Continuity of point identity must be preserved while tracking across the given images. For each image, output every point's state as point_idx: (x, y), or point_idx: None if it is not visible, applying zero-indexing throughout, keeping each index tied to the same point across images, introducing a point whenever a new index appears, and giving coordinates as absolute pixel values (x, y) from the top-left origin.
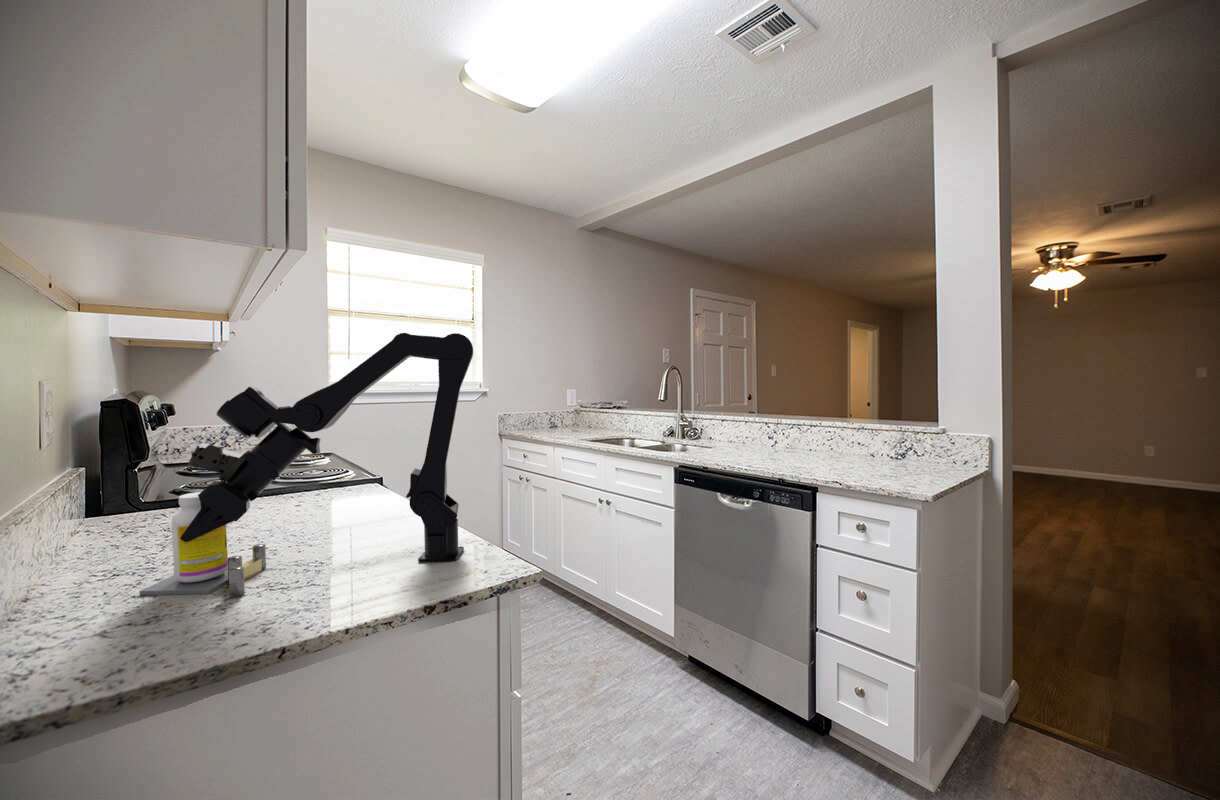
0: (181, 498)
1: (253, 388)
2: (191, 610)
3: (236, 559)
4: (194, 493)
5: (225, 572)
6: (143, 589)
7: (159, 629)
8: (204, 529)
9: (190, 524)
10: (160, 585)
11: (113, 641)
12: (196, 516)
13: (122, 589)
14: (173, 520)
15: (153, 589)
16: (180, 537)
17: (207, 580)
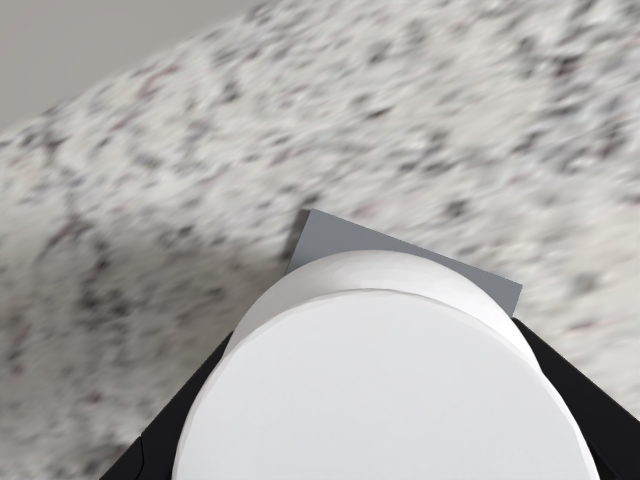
0: (235, 345)
1: None
2: (121, 385)
3: None
4: (484, 440)
5: None
6: (323, 213)
7: (33, 343)
8: None
9: (165, 407)
10: (341, 249)
11: (16, 269)
12: (110, 473)
13: (394, 144)
14: (281, 279)
15: (310, 241)
16: (231, 332)
17: None
